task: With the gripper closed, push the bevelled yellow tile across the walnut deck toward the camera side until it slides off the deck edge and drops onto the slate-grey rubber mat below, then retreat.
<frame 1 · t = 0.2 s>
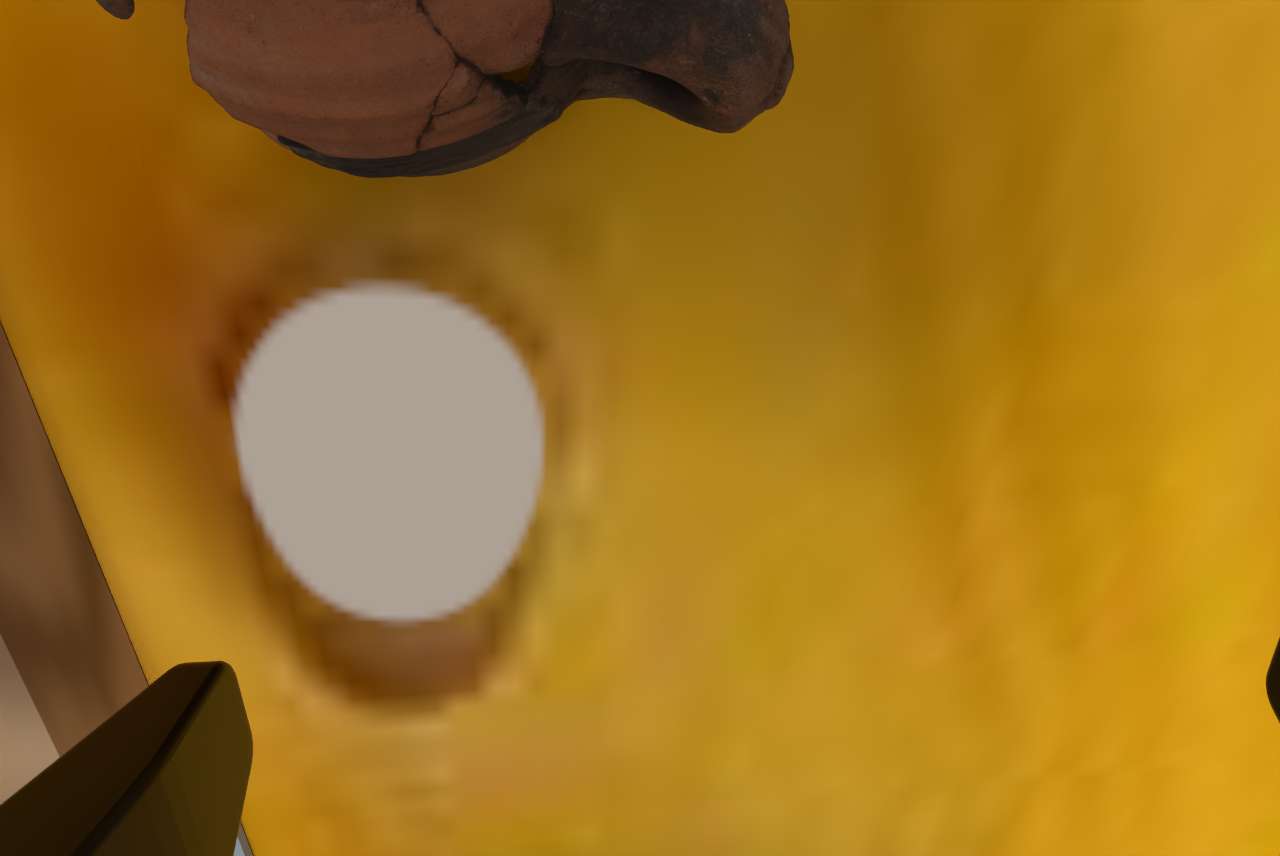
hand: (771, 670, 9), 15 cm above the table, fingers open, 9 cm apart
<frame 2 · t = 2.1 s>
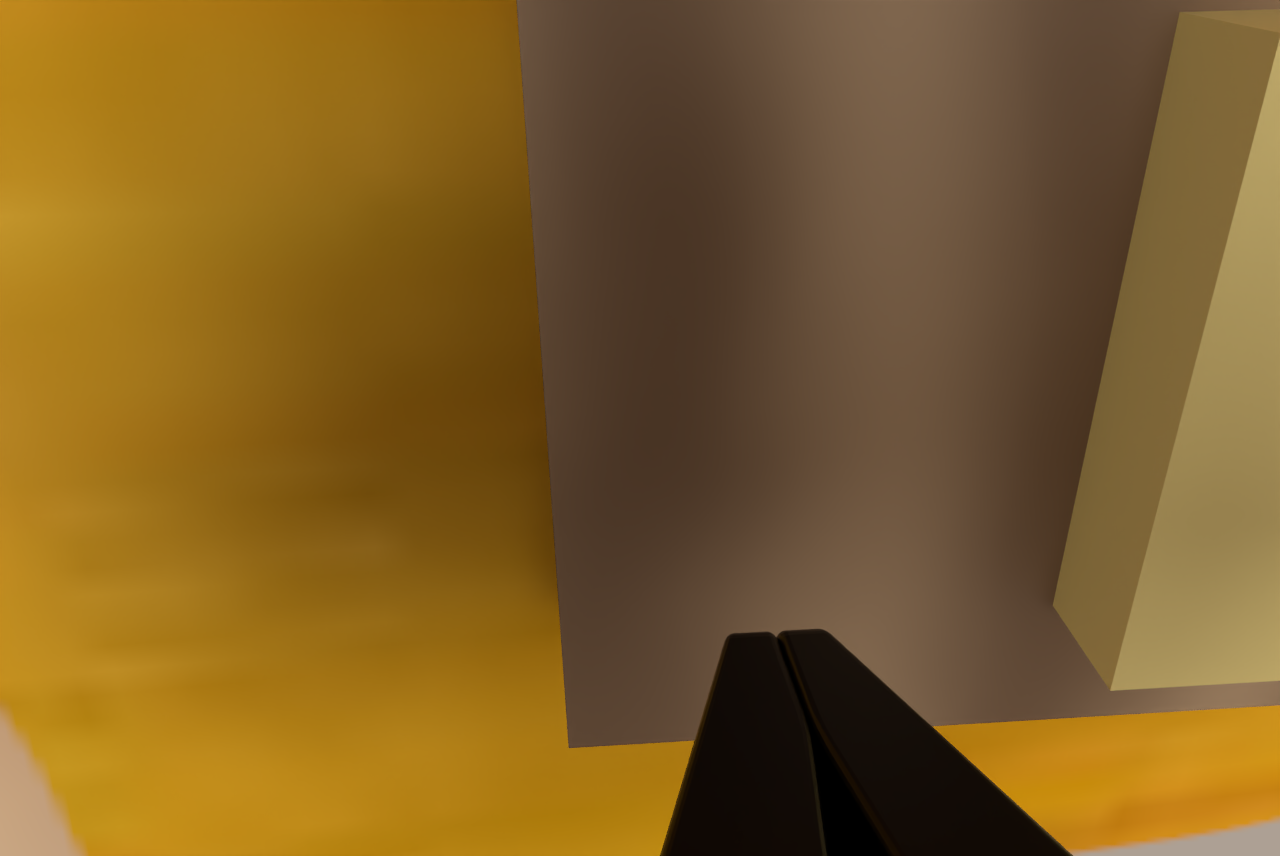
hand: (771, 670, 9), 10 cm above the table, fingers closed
deck: (1001, 260, 18), on the table
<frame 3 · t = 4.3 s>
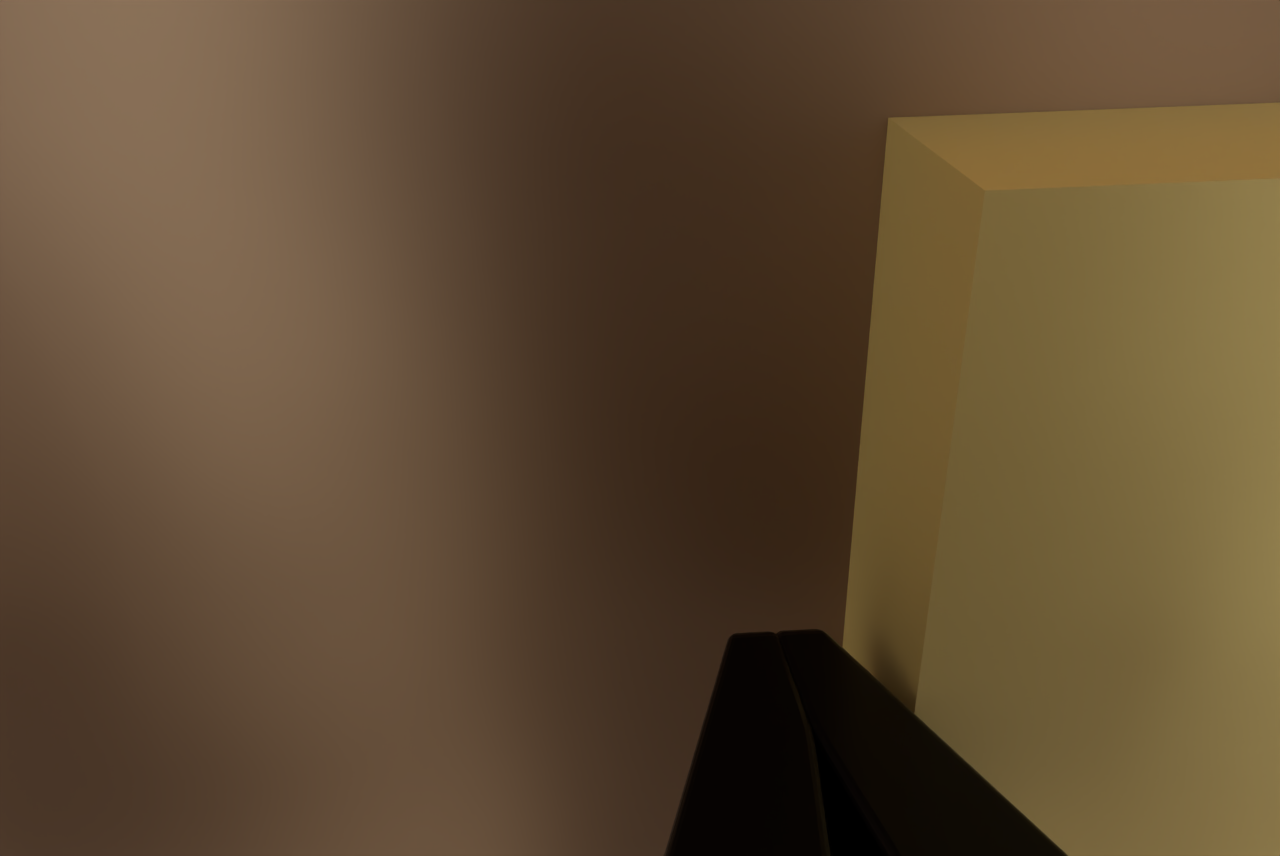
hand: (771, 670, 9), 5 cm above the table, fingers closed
bevelled yellow tile: (1158, 590, 10), point 4 cm above the table, touching deck, gripper
deck: (676, 416, 13), on the table
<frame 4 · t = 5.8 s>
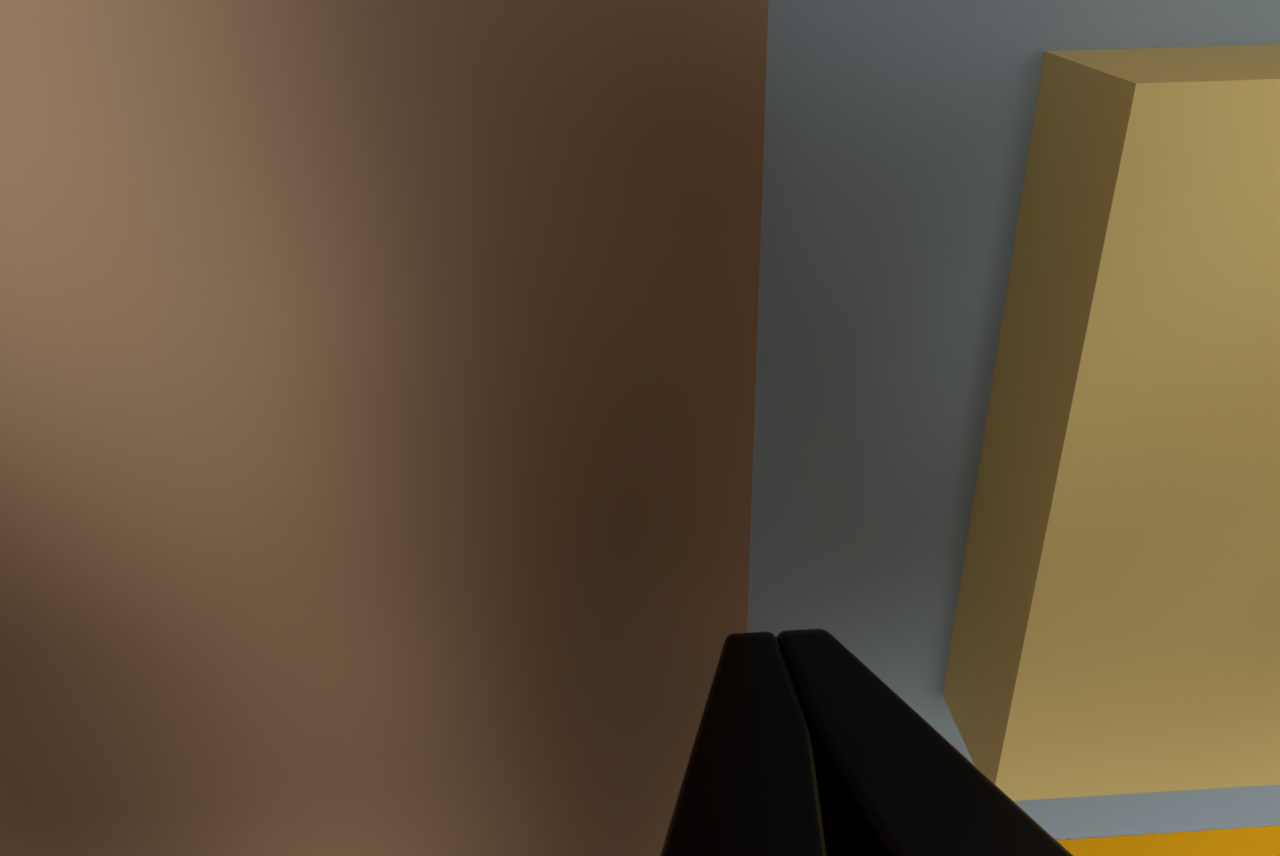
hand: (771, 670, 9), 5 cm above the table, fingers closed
deck: (60, 441, 13), on the table
mat: (1083, 393, 13), on the table
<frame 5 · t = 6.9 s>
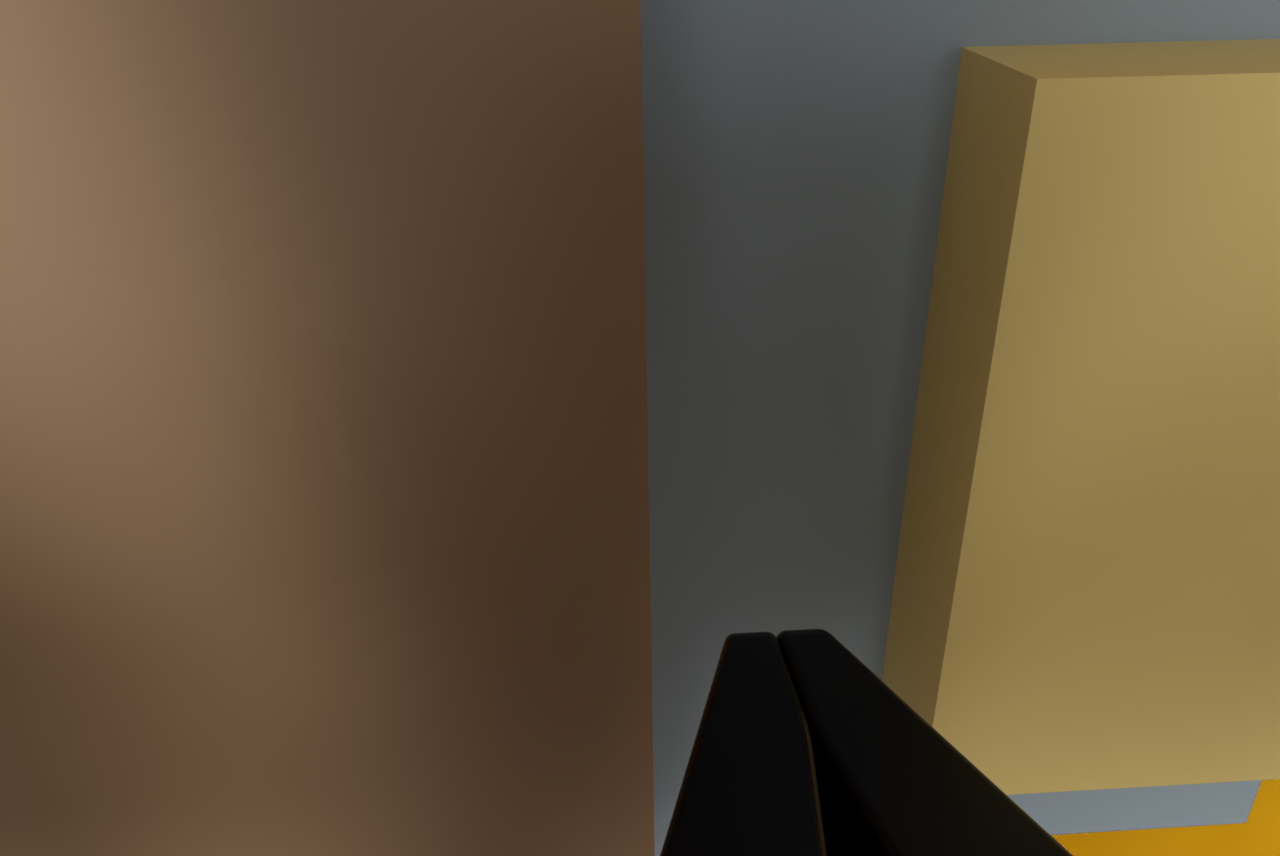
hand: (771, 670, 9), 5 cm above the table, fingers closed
bevelled yellow tile: (1234, 495, 11), point 2 cm above the table, tilted 180°, touching mat
mat: (1014, 390, 13), on the table
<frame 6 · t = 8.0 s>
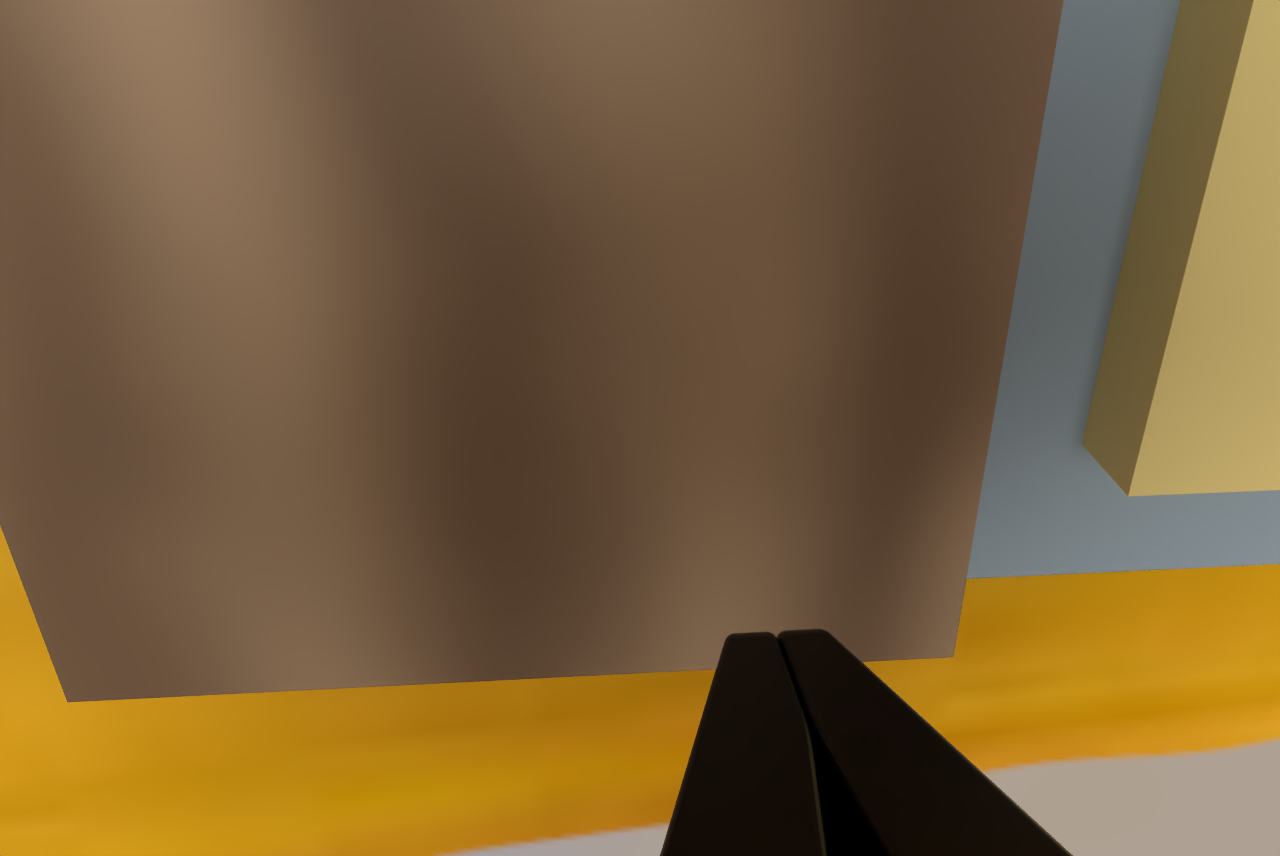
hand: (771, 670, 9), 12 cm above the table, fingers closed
deck: (500, 236, 19), on the table
mat: (1194, 213, 19), on the table
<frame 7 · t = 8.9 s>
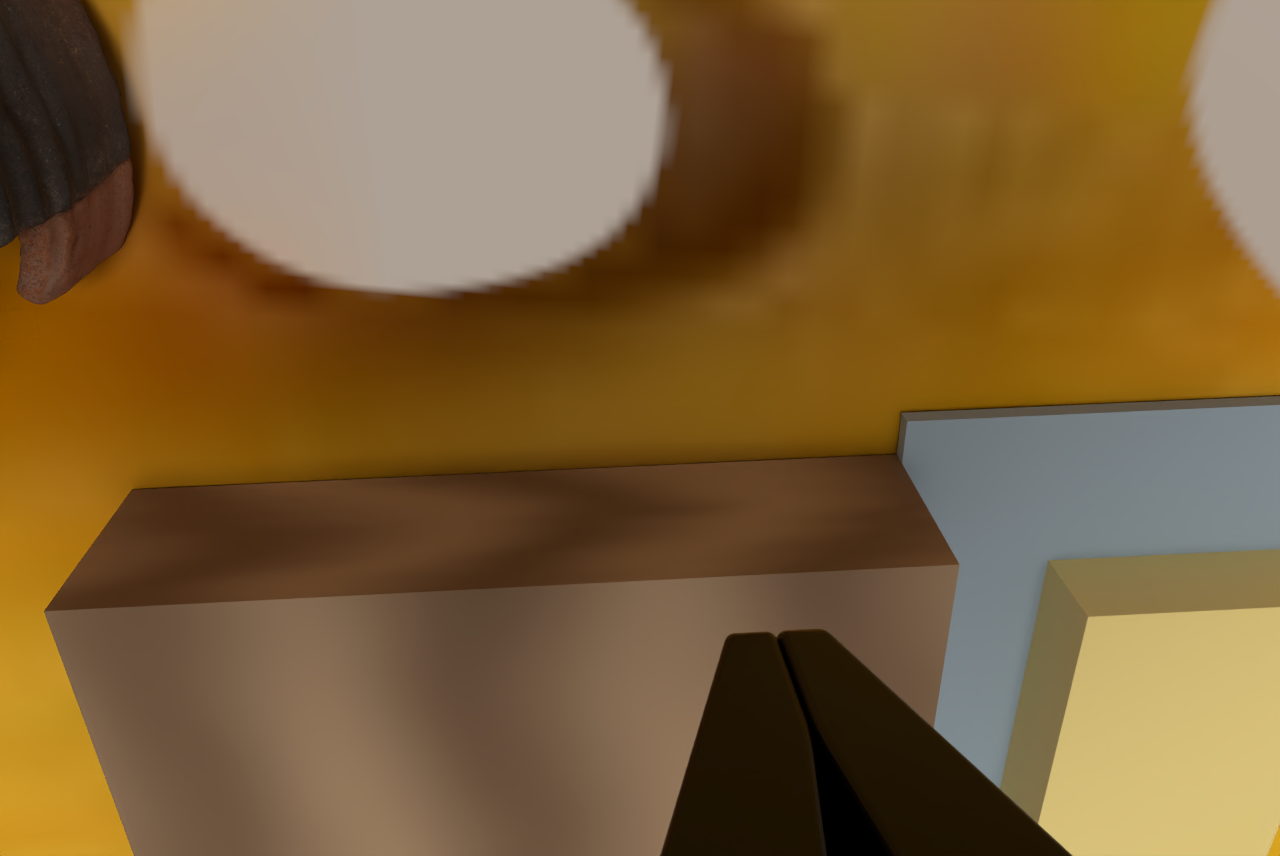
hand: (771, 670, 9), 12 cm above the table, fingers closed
bevelled yellow tile: (1178, 766, 23), point 2 cm above the table, tilted 180°, touching mat
deck: (541, 720, 25), on the table
mat: (1067, 690, 25), on the table
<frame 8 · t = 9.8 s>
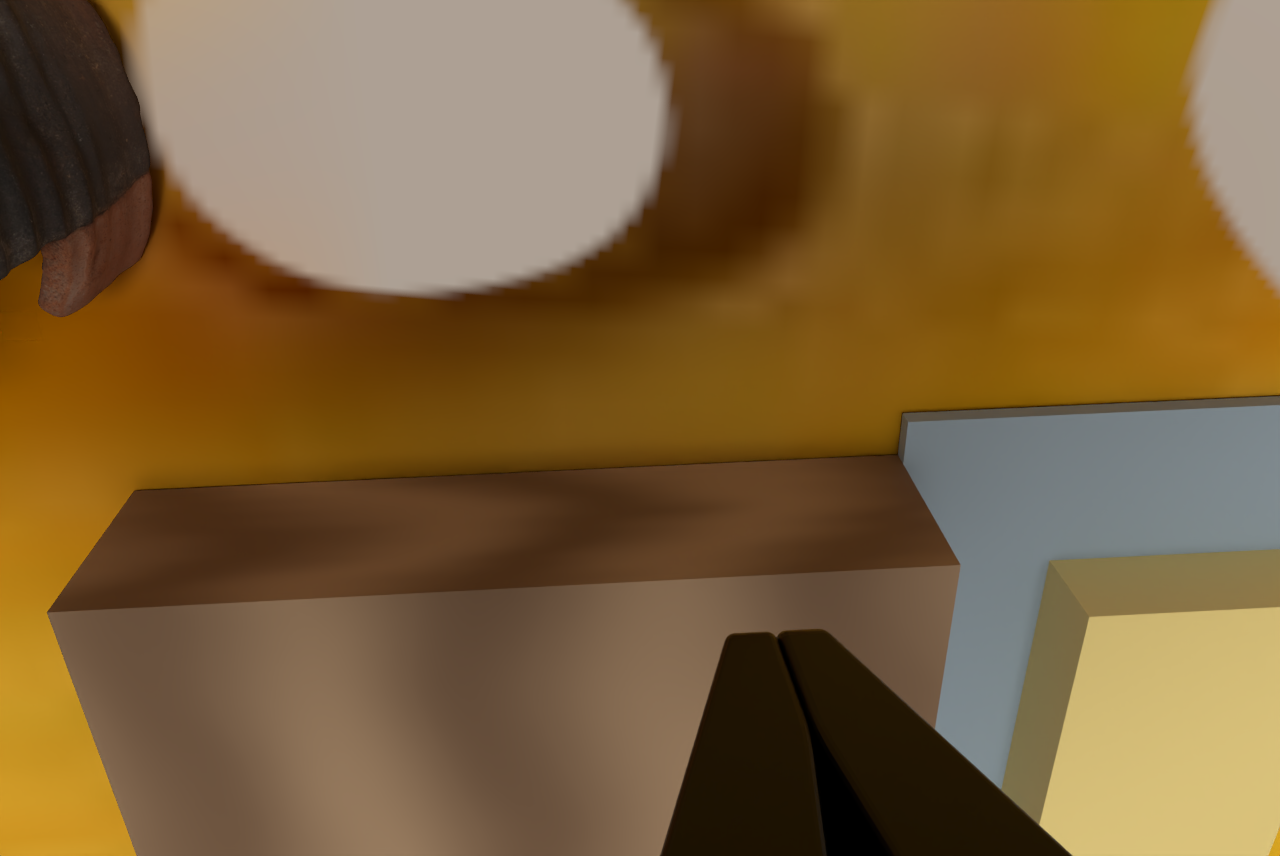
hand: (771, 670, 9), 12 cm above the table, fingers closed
bevelled yellow tile: (1180, 766, 23), point 2 cm above the table, tilted 180°, touching mat
deck: (543, 720, 25), on the table
mat: (1068, 690, 25), on the table
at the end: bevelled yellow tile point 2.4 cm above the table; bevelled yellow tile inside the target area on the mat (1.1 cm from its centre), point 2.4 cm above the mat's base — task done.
